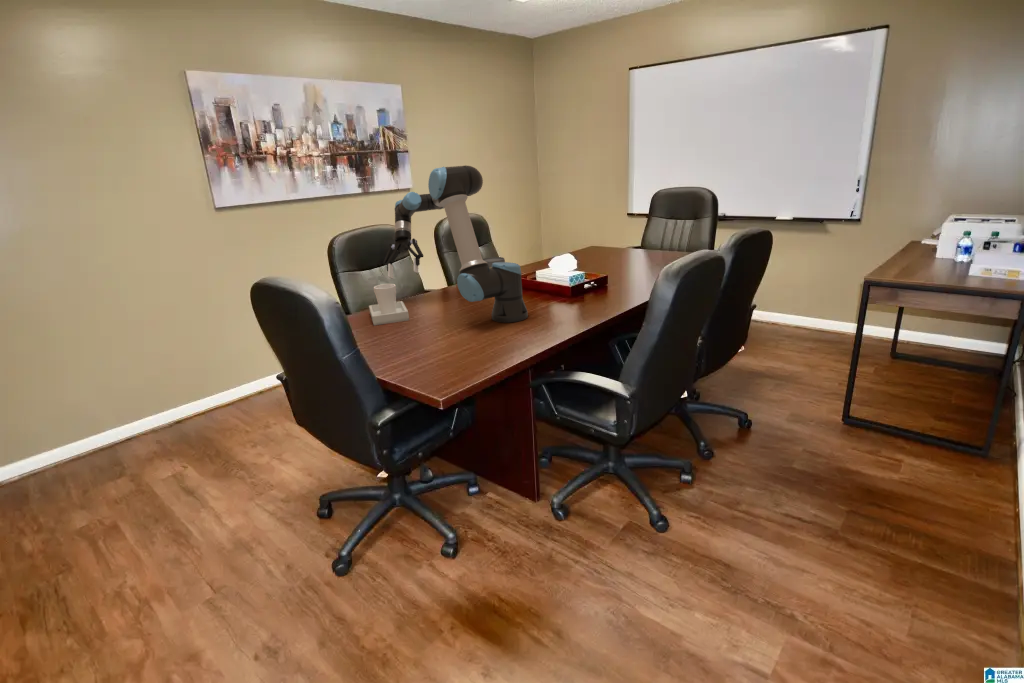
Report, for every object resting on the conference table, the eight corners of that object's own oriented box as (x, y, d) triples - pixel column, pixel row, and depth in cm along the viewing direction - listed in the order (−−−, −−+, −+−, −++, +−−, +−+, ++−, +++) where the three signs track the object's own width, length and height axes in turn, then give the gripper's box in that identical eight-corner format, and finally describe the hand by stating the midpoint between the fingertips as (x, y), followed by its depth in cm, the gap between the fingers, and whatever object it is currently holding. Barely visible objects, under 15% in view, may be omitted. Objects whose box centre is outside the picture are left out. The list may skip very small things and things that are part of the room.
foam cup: (394, 317, 229) (390, 288, 224) (374, 318, 231) (370, 289, 226) (402, 311, 237) (398, 283, 233) (383, 311, 239) (379, 283, 235)
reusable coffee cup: (511, 286, 275) (509, 257, 270) (498, 291, 265) (495, 262, 260) (491, 284, 282) (489, 256, 277) (478, 289, 272) (475, 261, 267)
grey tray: (409, 320, 227) (408, 311, 226) (373, 325, 223) (372, 316, 222) (403, 309, 245) (402, 300, 244) (370, 314, 241) (368, 305, 240)
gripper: (430, 230, 246) (431, 272, 241) (385, 241, 255) (384, 282, 249) (422, 223, 239) (422, 267, 234) (375, 235, 248) (375, 277, 243)
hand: (403, 275), depth 242 cm, fingers open, 13 cm apart
